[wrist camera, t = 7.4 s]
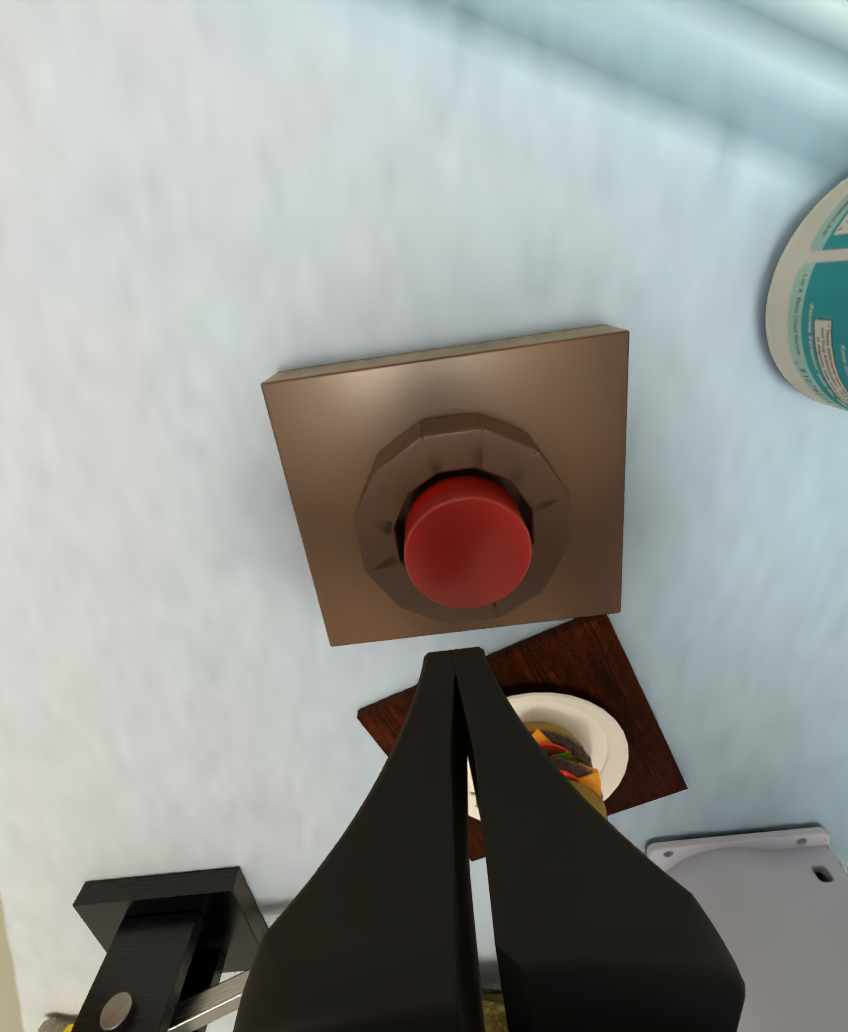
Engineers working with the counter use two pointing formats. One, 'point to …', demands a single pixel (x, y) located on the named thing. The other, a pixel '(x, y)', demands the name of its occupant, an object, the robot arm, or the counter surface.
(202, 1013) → the lever
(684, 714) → the counter surface
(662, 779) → the hamburger
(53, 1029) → the light bulb
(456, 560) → the button
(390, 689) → the counter surface
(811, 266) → the pill bottle
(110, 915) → the bracket
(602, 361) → the button block
